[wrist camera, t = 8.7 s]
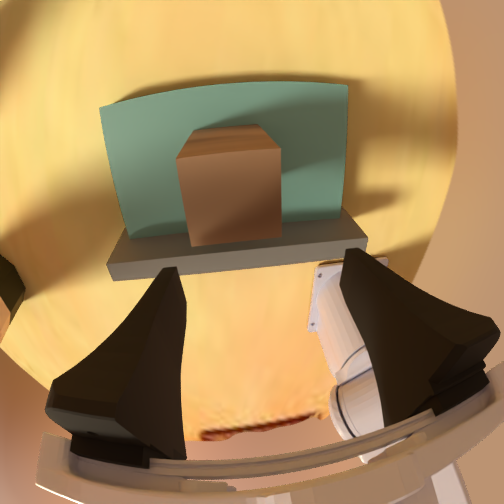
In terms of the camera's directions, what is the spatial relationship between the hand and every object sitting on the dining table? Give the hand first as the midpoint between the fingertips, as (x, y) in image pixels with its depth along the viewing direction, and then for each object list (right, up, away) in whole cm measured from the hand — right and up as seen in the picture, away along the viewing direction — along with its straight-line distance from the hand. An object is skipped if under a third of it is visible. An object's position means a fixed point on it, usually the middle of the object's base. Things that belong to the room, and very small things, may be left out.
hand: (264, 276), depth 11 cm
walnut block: (-2, +7, +5) cm, 9 cm away
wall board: (-2, +7, +7) cm, 11 cm away
